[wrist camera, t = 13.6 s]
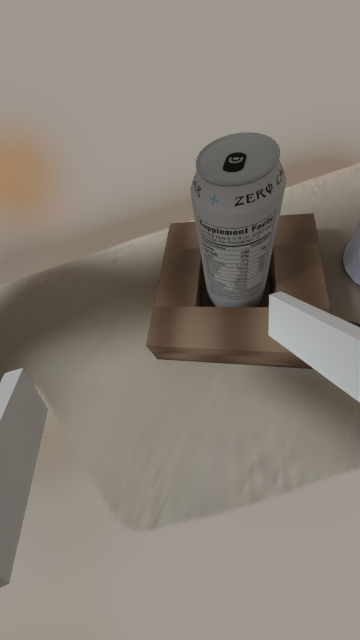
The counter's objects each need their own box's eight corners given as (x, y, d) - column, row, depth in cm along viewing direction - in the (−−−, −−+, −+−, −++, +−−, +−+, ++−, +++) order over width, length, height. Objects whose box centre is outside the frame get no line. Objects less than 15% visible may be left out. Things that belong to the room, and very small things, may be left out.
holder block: (157, 359, 26) (146, 345, 23) (176, 247, 33) (170, 223, 30) (321, 369, 22) (338, 355, 19) (303, 241, 29) (313, 213, 26)
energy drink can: (266, 276, 27) (297, 124, 14) (258, 323, 25) (284, 190, 12) (215, 270, 29) (200, 129, 16) (202, 313, 27) (173, 188, 14)
